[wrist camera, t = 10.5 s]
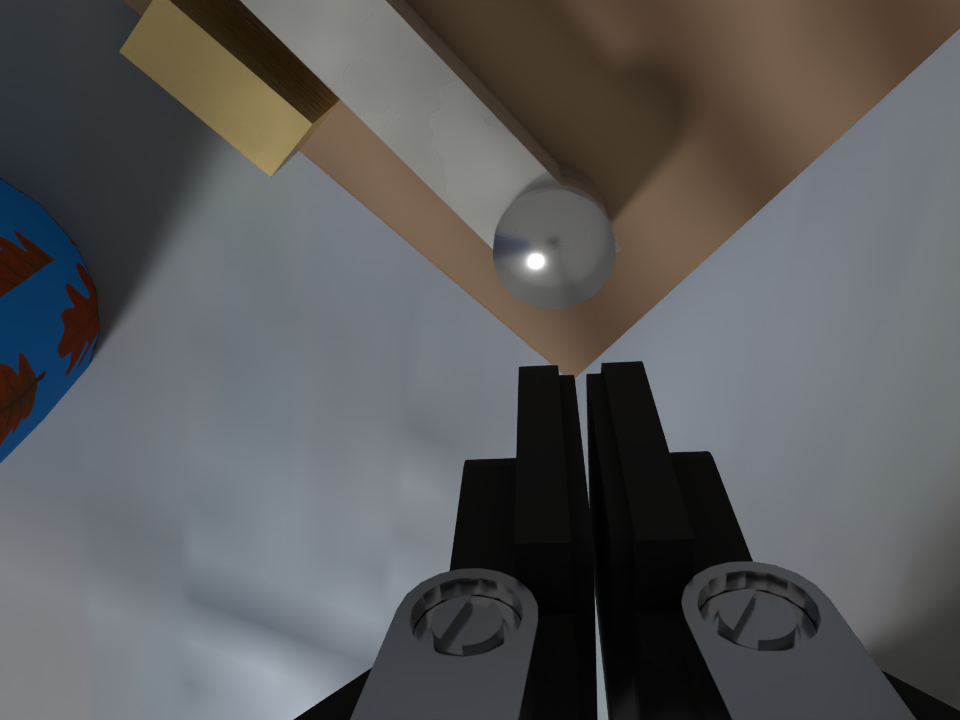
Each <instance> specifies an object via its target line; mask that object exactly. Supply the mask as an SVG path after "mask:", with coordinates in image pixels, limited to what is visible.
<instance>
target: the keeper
mask: <svg viewBox="0 0 960 720" xmlns="http://www.w3.org/2000/svg"><path fill="white" fill-rule="evenodd" d="M119 52H120V53H121V54H122V55H124V56H125V57H126V58H127V59H128V60H130V61H131V62H132V63H133V64H134V65H136V66H137V67H138V68H139V69H140V70H142V71H143V72H144V73H145V74H147V75H148V76H149V77H150V78H151V79H153V80H154V81H155V82H156V83H157V84H159V85H160V86H161V87H162V88H163V89H165V90H166V91H167V92H168V93H170V94H171V95H172V96H173V97H174V98H176V99H177V100H178V101H179V102H180V103H182V104H183V105H184V106H185V107H186V108H188V109H189V110H190V111H191V112H192V113H194V114H195V115H196V116H197V117H199V118H200V119H201V120H202V121H203V122H205V123H206V124H207V125H208V126H209V127H211V128H212V129H213V130H214V131H215V132H217V133H218V134H219V135H220V136H222V137H223V138H224V139H225V140H226V141H228V142H229V143H230V144H231V145H232V146H234V147H235V148H236V149H237V150H238V151H240V152H241V153H242V154H243V155H245V156H246V157H247V158H248V159H249V160H251V161H252V162H253V163H254V164H255V165H257V166H258V167H259V168H260V169H261V170H263V171H264V172H265V173H266V174H267V175H269V176H270V177H272V176H273V175H274V174H275V173H276V172H277V171H278V170H279V169H280V168H281V167H282V166H283V165H284V164H285V163H286V162H287V161H288V160H290V159H291V158H292V157H293V156H294V155H295V154H296V153H297V152H298V151H299V150H300V149H301V148H302V147H303V146H304V145H305V144H306V142H307V141H308V140H309V139H310V137H311V136H312V135H313V134H314V132H315V131H316V130H317V129H318V127H319V126H320V125H321V124H322V122H323V121H324V120H325V119H326V117H327V116H328V115H329V114H330V112H331V111H332V110H333V108H334V107H335V106H336V105H337V103H338V102H339V101H340V99H339V98H338V97H337V96H336V95H335V94H334V93H332V92H331V91H330V90H329V89H328V88H327V87H326V86H325V85H323V84H322V83H321V82H320V81H319V80H318V79H317V78H315V77H314V76H313V75H312V74H311V73H310V72H309V71H308V70H306V69H305V68H304V67H303V66H302V65H301V64H300V63H298V62H297V61H296V60H295V59H294V58H293V57H292V56H291V55H289V54H288V53H287V52H286V51H285V50H284V49H283V48H281V47H280V46H279V45H278V44H277V43H276V42H275V41H274V40H272V39H271V38H270V37H269V36H268V35H267V34H266V33H264V32H263V31H262V30H261V29H260V28H259V27H258V26H257V25H255V24H254V23H253V22H252V21H251V20H250V19H249V18H248V17H246V16H245V15H244V14H243V13H242V12H241V11H240V10H238V9H237V8H236V7H235V6H234V5H233V4H232V3H231V2H229V1H228V0H153V1H152V2H151V4H150V5H149V7H148V8H147V10H146V11H145V13H144V14H143V16H142V18H141V19H140V21H139V22H138V24H137V25H136V27H135V28H134V30H133V31H132V33H131V34H130V36H129V37H128V39H127V41H126V42H125V44H124V45H123V47H122V48H121V50H120V51H119Z"/></svg>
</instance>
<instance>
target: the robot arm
mask: <svg viewBox="0 0 960 720" xmlns="http://www.w3.org/2000/svg"><path fill="white" fill-rule="evenodd" d="M586 384H587V426H588V467H589V501H588V492H587V483H586V474H585V465H584V456H583V448H582V439H581V430H580V421H579V412H578V403H577V395H576V386H575V377H574V375H559V371H558V365H548V366H525V367H519V382H518V418H517V454H516V458H505V459H478V460H466V461H465V463H464V468H463V476H462V483H461V491H460V498H459V505H458V513H457V520H456V528H455V535H454V542H453V550H452V557H451V564H450V571H449V572H445V573H440V574H438V575H436V576H434V577H432V578H429V579H427V580H425V581H423V582H421V583H420V584H419V585H417V586H416V587H415V588H414V589H413V590H411V591H410V592H409V593H408V594H407V595H406V596H405V598H404V599H403V601H402V602H401V604H400V605H399V607H398V608H397V610H396V613H395V615H394V617H393V620H392V622H391V624H390V627H389V629H388V631H387V634H386V636H385V639H384V641H383V643H382V646H381V648H380V650H379V653H378V655H377V657H376V660H375V662H374V664H373V667H372V668H371V669H369V670H368V671H366V672H365V673H363V674H362V675H360V676H359V677H357V678H356V679H354V680H353V681H351V682H350V683H348V684H347V685H345V686H344V687H342V688H341V689H339V690H337V691H336V692H334V693H333V694H331V695H330V696H328V697H327V698H325V699H324V700H322V701H321V702H319V703H318V704H316V705H315V706H313V707H312V708H310V709H309V710H307V711H306V712H304V713H303V714H301V715H300V716H298V717H297V718H295V719H294V720H597V678H596V634H595V597H596V606H597V616H598V625H599V635H600V644H601V653H602V663H603V672H604V681H605V691H606V700H607V709H608V719H609V720H960V711H959V710H957V709H955V708H953V707H951V706H949V705H947V704H945V703H943V702H941V701H939V700H937V699H936V698H934V697H932V696H930V695H928V694H926V693H924V692H922V691H920V690H918V689H916V688H914V687H912V686H911V685H909V684H907V683H905V682H903V681H901V680H899V679H897V678H895V677H893V676H891V675H889V674H888V673H886V672H884V671H882V670H880V668H879V667H878V665H877V664H876V663H875V661H874V660H873V659H872V657H871V656H870V654H869V653H868V652H867V650H866V649H865V647H864V646H863V645H862V643H861V642H860V640H859V639H858V638H857V636H856V635H855V633H854V632H853V631H852V629H851V628H850V626H849V625H848V624H847V622H846V621H845V619H844V618H843V617H842V615H841V614H840V613H839V611H838V610H837V608H836V607H835V606H834V604H833V603H832V601H831V600H830V599H829V598H828V597H827V596H826V595H825V594H824V593H823V592H822V591H821V590H820V589H819V587H818V586H817V585H815V584H814V583H812V582H810V581H809V580H807V579H806V578H804V577H802V576H801V575H799V574H797V573H795V572H792V571H790V570H787V569H784V568H781V567H779V566H776V565H771V564H765V563H759V562H753V560H752V558H751V555H750V553H749V550H748V547H747V545H746V542H745V540H744V537H743V534H742V532H741V529H740V527H739V524H738V521H737V519H736V516H735V514H734V511H733V508H732V506H731V503H730V501H729V498H728V495H727V493H726V490H725V488H724V485H723V482H722V480H721V477H720V475H719V472H718V469H717V467H716V464H715V461H714V459H713V457H712V455H711V453H710V452H708V451H700V452H672V453H669V450H668V446H667V443H666V439H665V436H664V433H663V429H662V426H661V422H660V419H659V416H658V412H657V409H656V406H655V402H654V399H653V395H652V392H651V389H650V385H649V382H648V379H647V375H646V372H645V368H644V365H643V362H642V361H637V362H614V363H602V365H601V374H587V378H586ZM589 507H590V509H589ZM594 588H595V590H594Z"/></svg>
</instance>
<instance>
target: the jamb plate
mask: <svg viewBox="0 0 960 720" xmlns="http://www.w3.org/2000/svg"><path fill="white" fill-rule="evenodd" d="M122 1H123V2H125V3H126V4H127V5H128V6H129V7H130V8H132V9H133V10H134V11H135V12H136V13H138V14H139V15H140V16H141V17H142V16H143V14H144V13H145V11H146V10H147V8H148V7H149V5H150V4H151V2H152V1H153V0H122ZM228 1H229V2H231V3H232V4H233V5H234V6H235V7H236V8H237V9H238V10H240V11H241V12H242V13H243V14H244V15H245V16H246V17H248V18H249V19H250V20H251V21H252V22H253V23H254V24H255V25H257V26H258V27H259V28H260V29H261V30H262V31H263V32H264V33H266V34H267V35H268V36H269V37H270V38H271V39H272V40H274V41H275V42H276V43H277V44H278V45H279V46H280V47H281V48H283V49H284V50H285V51H286V52H287V53H288V54H289V55H291V56H292V57H293V58H294V59H295V60H296V61H297V62H298V63H300V64H301V65H302V66H303V67H304V68H305V69H306V70H308V71H309V72H310V73H311V74H312V75H313V76H314V77H315V78H317V79H318V80H319V81H320V82H321V83H322V84H323V85H325V84H324V83H323V82H322V81H321V80H320V79H319V78H318V77H317V76H316V75H315V74H314V73H313V72H312V71H311V70H310V69H309V68H308V67H307V66H306V65H305V64H304V63H303V62H302V61H301V60H300V59H299V58H298V57H297V56H296V55H295V54H294V53H293V52H292V51H291V50H290V49H289V48H288V47H287V46H286V45H285V44H284V43H283V42H282V41H281V40H280V39H279V38H278V37H277V36H276V35H275V34H274V33H273V32H272V31H271V30H270V29H269V28H268V27H267V26H266V25H264V24H263V23H262V22H261V21H260V20H259V19H258V18H257V17H256V16H255V15H254V14H253V13H252V12H251V11H250V10H249V9H248V8H247V7H246V6H245V5H244V4H243V3H242V2H241V1H240V0H228ZM405 1H406V2H407V3H408V4H409V6H410V7H411V8H412V9H413V10H414V11H415V12H416V13H417V14H418V15H419V16H420V17H421V18H422V19H423V20H424V21H425V23H426V24H427V25H428V26H429V27H430V28H431V29H432V30H433V31H434V32H435V33H436V34H437V35H438V36H439V37H440V38H441V40H442V41H443V42H444V43H445V44H446V45H447V46H448V47H449V48H450V49H451V50H452V51H453V52H454V53H455V54H456V56H457V57H458V58H459V59H460V60H461V61H462V62H463V63H464V64H465V65H466V66H467V67H468V68H469V69H470V70H471V71H472V73H473V74H474V75H475V76H476V77H477V78H478V79H479V80H480V81H481V82H482V83H483V84H484V85H485V86H486V87H487V89H488V90H489V91H490V92H491V93H492V94H493V95H494V96H495V97H496V98H497V99H498V100H499V101H500V102H501V103H502V104H503V106H504V107H505V108H506V109H507V110H508V111H509V112H510V113H511V114H512V115H513V116H514V117H515V118H516V119H517V120H518V122H519V123H520V124H521V125H522V126H523V127H524V128H525V129H526V130H527V131H528V132H529V133H530V134H531V135H532V136H533V137H534V139H535V140H536V141H537V142H538V143H539V144H540V145H541V146H542V147H543V148H544V149H545V150H546V151H547V152H548V153H549V155H550V156H551V157H552V158H553V159H554V160H555V161H556V162H557V163H560V164H565V165H568V166H571V167H574V168H576V169H578V170H579V171H581V172H582V173H584V174H585V175H586V176H588V177H589V178H590V179H591V180H592V182H593V183H594V184H595V185H596V187H597V189H598V190H599V192H600V195H601V197H602V200H603V203H604V206H605V209H606V212H607V215H608V217H609V218H610V219H611V221H612V222H613V225H614V228H615V231H616V234H617V237H618V240H619V243H620V246H621V250H620V251H619V252H617V253H616V256H615V262H614V266H613V269H612V271H611V274H610V276H609V278H608V279H607V281H606V283H605V284H604V285H603V286H602V288H601V289H600V290H599V291H598V292H597V293H596V294H595V295H593V296H592V297H591V298H589V299H588V300H586V301H584V302H583V303H580V304H578V305H576V306H573V307H569V308H565V309H558V310H548V309H541V308H536V307H533V306H530V305H528V304H525V303H523V302H521V301H520V300H518V299H517V298H515V297H514V296H513V295H512V294H511V293H510V292H509V291H508V290H507V289H506V288H505V287H504V285H503V284H502V282H501V281H500V279H499V277H498V275H497V273H496V270H495V267H494V261H493V249H492V248H491V247H490V246H489V245H488V244H487V243H486V242H485V241H484V240H483V239H482V238H481V237H480V236H479V235H478V234H477V233H476V232H474V231H473V230H472V229H471V228H470V227H469V226H468V225H467V224H466V223H465V222H464V221H463V220H462V219H461V218H460V217H459V216H458V215H457V214H456V213H455V212H454V211H453V210H452V209H451V208H450V207H449V206H448V205H447V204H446V203H445V202H444V201H443V200H442V199H441V198H440V197H439V196H438V195H437V194H436V193H435V192H434V191H433V190H432V189H431V188H430V187H429V186H428V185H427V184H426V183H425V182H424V181H423V180H422V179H421V178H420V177H419V176H418V175H417V174H416V173H415V172H414V171H413V170H412V169H411V168H410V167H409V166H408V165H407V164H406V163H404V162H403V161H402V160H401V159H400V158H399V157H398V156H397V155H396V154H395V153H394V152H393V151H392V150H391V149H390V148H389V147H388V146H387V145H386V144H385V143H384V142H383V141H382V140H381V139H380V138H379V137H378V136H377V135H376V134H375V133H374V132H373V131H372V130H371V129H370V128H369V127H368V126H367V125H366V124H365V123H364V122H363V121H362V120H361V119H360V118H359V117H358V116H357V115H356V114H355V113H354V112H353V111H352V110H351V109H350V108H349V107H348V106H347V105H346V104H345V103H344V102H343V101H342V100H341V99H340V98H339V97H338V96H337V95H336V94H335V95H336V96H337V97H338V98H339V99H340V101H339V102H338V103H337V105H336V106H335V107H334V108H333V110H332V111H331V112H330V114H329V115H328V116H327V117H326V119H325V120H324V121H323V122H322V124H321V125H320V126H319V127H318V129H317V130H316V131H315V132H314V134H313V135H312V136H311V137H310V139H309V140H308V141H307V142H306V144H305V145H304V146H303V147H302V148H301V149H300V150H299V151H300V152H302V153H303V154H304V155H305V156H306V157H308V158H309V159H310V160H311V161H312V162H313V163H315V164H316V165H317V166H318V167H319V168H320V169H322V170H323V171H324V172H325V173H326V174H328V175H329V176H330V177H331V178H332V179H333V180H335V181H336V182H337V183H338V184H339V185H341V186H342V187H343V188H344V189H345V190H346V191H348V192H349V193H350V194H351V195H352V196H354V197H355V198H356V199H357V200H358V201H359V202H361V203H362V204H363V205H364V206H365V207H367V208H368V209H369V210H370V211H371V212H372V213H374V214H375V215H376V216H377V217H378V218H380V219H381V220H382V221H383V222H384V223H385V224H387V225H388V226H389V227H390V228H391V229H392V230H394V231H395V232H396V233H397V234H398V235H400V236H401V237H402V238H403V239H404V240H405V241H407V242H408V243H409V244H410V245H411V246H413V247H414V248H415V249H416V250H417V251H418V252H420V253H421V254H422V255H423V256H424V257H426V258H427V259H428V260H429V261H430V262H431V263H433V264H434V265H435V266H436V267H437V268H439V269H440V270H441V271H442V272H443V273H444V274H446V275H447V276H448V277H449V278H450V279H452V280H453V281H454V282H455V283H456V284H457V285H459V286H460V287H461V288H462V289H463V290H464V291H466V292H467V293H468V294H469V295H470V296H472V297H473V298H474V299H475V300H476V301H477V302H479V303H480V304H481V305H482V306H483V307H485V308H486V309H487V310H488V311H489V312H490V313H492V314H493V315H494V316H495V317H496V318H498V319H499V320H500V321H501V322H502V323H503V324H505V325H506V326H507V327H508V328H509V329H511V330H512V331H513V332H514V333H515V334H516V335H518V336H519V337H520V338H521V339H522V340H523V341H525V342H526V343H527V344H528V345H529V346H531V347H532V348H533V349H534V350H535V351H536V352H538V353H539V354H540V355H541V356H542V357H544V358H545V359H546V360H547V361H548V362H549V363H551V364H552V365H558V370H559V371H560V372H561V373H562V374H564V375H574V377H575V378H576V377H577V376H578V375H579V374H580V373H581V372H582V371H583V370H584V369H586V368H587V367H588V366H589V365H590V364H591V363H592V362H593V361H594V360H595V359H597V358H598V357H599V356H600V355H601V354H602V353H603V352H604V351H605V350H606V349H608V348H609V347H610V346H611V345H612V344H613V343H614V342H615V341H616V340H617V339H619V338H620V337H621V336H622V335H623V334H624V333H625V332H626V331H627V330H628V329H630V328H631V327H632V326H633V325H634V324H635V323H636V322H637V321H638V320H639V319H641V318H642V317H643V316H644V315H645V314H646V313H647V312H648V311H649V310H650V309H652V308H653V307H654V306H655V305H656V304H657V303H658V302H659V301H660V300H661V299H663V298H664V297H665V296H666V295H667V294H668V293H669V292H670V291H671V290H672V289H674V288H675V287H676V286H677V285H678V284H679V283H680V282H681V281H682V280H683V279H685V278H686V277H687V276H688V275H689V274H690V273H691V272H692V271H693V270H694V269H696V268H697V267H698V266H699V265H700V264H701V263H702V262H703V261H704V260H705V259H707V258H708V257H709V256H710V255H711V254H712V253H713V252H714V251H715V250H716V249H718V248H719V247H720V246H721V245H722V244H723V243H724V242H725V241H726V240H728V239H729V238H730V237H731V236H732V235H733V234H734V233H735V232H736V231H737V230H739V229H740V228H741V227H742V226H743V225H744V224H745V223H746V222H747V221H748V220H750V219H751V218H752V217H753V216H754V215H755V214H756V213H757V212H758V211H759V210H761V209H762V208H763V207H764V206H765V205H766V204H767V203H768V202H769V201H770V200H772V199H773V198H774V197H775V196H776V195H777V194H778V193H779V192H780V191H781V190H783V189H784V188H785V187H786V186H787V185H788V184H789V183H790V182H791V181H792V180H794V179H795V178H796V177H797V176H798V175H799V174H800V173H801V172H802V171H803V170H805V169H806V168H807V167H808V166H809V165H810V164H811V163H812V162H813V161H814V160H816V159H817V158H818V157H819V156H820V155H821V154H822V153H823V152H824V151H825V150H827V149H828V148H829V147H830V146H831V145H832V144H833V143H834V142H835V141H836V140H838V139H839V138H840V137H841V136H842V135H843V134H844V133H845V132H846V131H847V130H849V129H850V128H851V127H852V126H853V125H854V124H855V123H856V122H857V121H858V120H860V119H861V118H862V117H863V116H864V115H865V114H866V113H867V112H868V111H869V110H871V109H872V108H873V107H874V106H875V105H876V104H877V103H878V102H879V101H880V100H882V99H883V98H884V97H885V96H886V95H887V94H888V93H889V92H890V91H891V90H893V89H894V88H895V87H896V86H897V85H898V84H899V83H900V82H901V81H902V80H904V79H905V78H906V77H907V76H908V75H909V74H910V73H911V72H912V71H913V70H915V69H916V68H917V67H918V66H919V65H920V64H921V63H922V62H923V61H924V60H926V59H927V58H928V57H929V56H930V55H931V54H932V53H933V52H934V51H935V50H937V49H938V48H939V47H940V46H941V45H942V44H943V43H944V42H945V41H946V40H948V39H949V38H950V37H951V36H952V35H953V34H954V33H955V32H956V31H957V30H959V29H960V0H405ZM325 86H326V85H325ZM326 87H327V86H326ZM327 88H328V87H327ZM328 89H329V88H328ZM329 90H330V89H329ZM330 91H331V90H330ZM331 92H332V91H331ZM332 93H333V92H332Z"/></svg>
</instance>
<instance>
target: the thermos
mask: <svg viewBox="0 0 960 720" xmlns="http://www.w3.org/2000/svg"><path fill="white" fill-rule="evenodd" d="M98 335H99V320H98V309H97V298H96V289H95V286H94V284H93V282H92V280H91V278H90V276H89V273H88V271H87V269H86V267H85V265H84V263H83V260H82V258H81V256H80V254H79V252H78V249H77V247H76V245H75V244H74V243H73V242H72V241H71V239H70V238H69V237H68V236H67V235H66V234H65V233H64V231H63V230H62V229H61V228H60V227H59V226H58V225H57V224H56V222H55V221H54V220H53V219H52V218H51V217H50V216H49V214H48V213H47V212H46V211H45V210H44V209H43V208H42V207H41V205H39V204H38V203H36V202H35V201H33V200H32V199H30V198H29V197H27V196H26V195H24V194H22V193H21V192H19V191H18V190H16V189H15V188H13V187H12V186H10V185H9V184H7V183H6V182H4V181H2V180H1V179H0V463H1V462H2V461H3V460H4V459H5V458H6V457H7V456H8V455H9V454H10V453H11V452H12V451H13V450H14V449H15V448H16V447H17V446H18V445H19V444H20V443H21V442H22V441H23V440H24V439H25V438H26V437H27V436H28V435H29V434H30V433H31V432H32V431H33V430H34V429H35V428H36V426H37V425H38V424H39V423H40V422H41V421H42V420H43V419H44V418H45V417H46V416H47V415H48V414H49V412H50V411H51V410H52V409H53V408H54V406H55V405H56V404H57V403H58V402H59V401H60V399H61V398H62V397H63V396H64V395H65V393H66V392H67V391H68V390H69V389H70V388H71V386H72V385H73V384H74V383H75V382H76V380H77V379H78V378H79V377H80V376H81V375H82V373H83V372H84V371H85V370H86V369H87V367H88V365H89V362H90V359H91V356H92V353H93V350H94V347H95V344H96V341H97V338H98Z"/></svg>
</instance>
